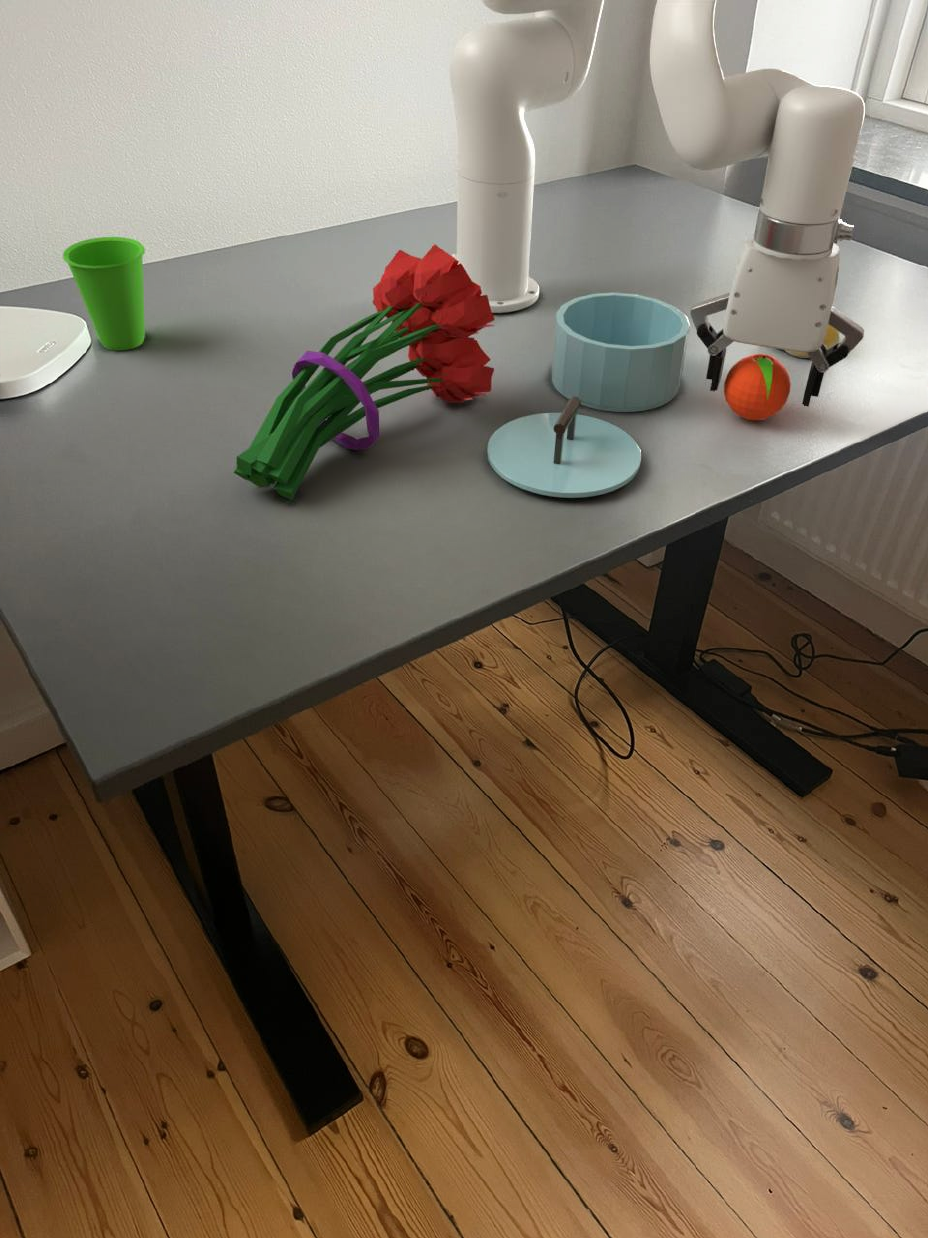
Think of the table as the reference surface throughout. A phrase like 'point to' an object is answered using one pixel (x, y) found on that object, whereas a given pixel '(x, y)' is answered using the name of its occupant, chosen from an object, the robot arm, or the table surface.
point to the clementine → (757, 387)
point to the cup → (111, 288)
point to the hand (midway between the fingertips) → (760, 393)
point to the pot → (619, 351)
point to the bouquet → (438, 348)
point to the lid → (564, 454)
